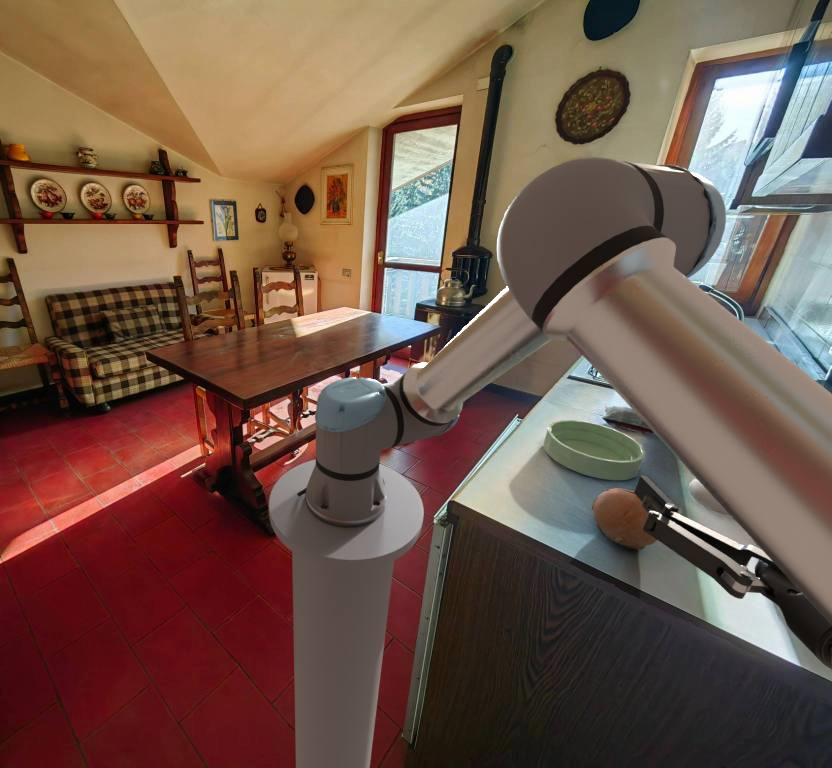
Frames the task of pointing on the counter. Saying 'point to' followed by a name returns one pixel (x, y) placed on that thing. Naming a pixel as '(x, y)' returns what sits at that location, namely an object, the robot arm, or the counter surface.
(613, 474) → the bowl
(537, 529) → the counter surface
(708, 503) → the donut
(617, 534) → the onion
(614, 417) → the packaged food
